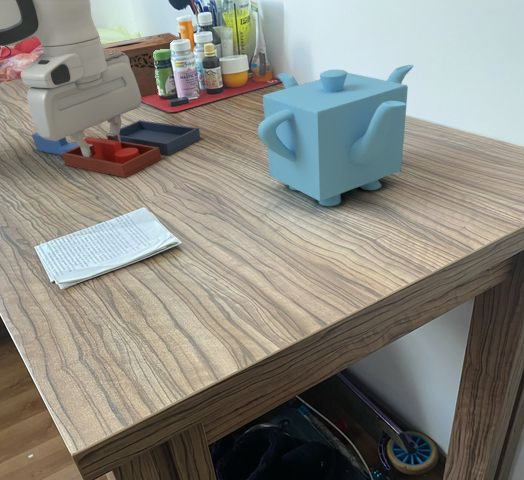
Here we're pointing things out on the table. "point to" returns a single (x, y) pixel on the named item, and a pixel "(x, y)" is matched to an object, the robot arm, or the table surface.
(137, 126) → the blue tray
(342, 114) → the teakettle
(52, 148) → the blue stepped block
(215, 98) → the table surface
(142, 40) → the tissue box cover
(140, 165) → the red tray
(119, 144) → the red block with disc
